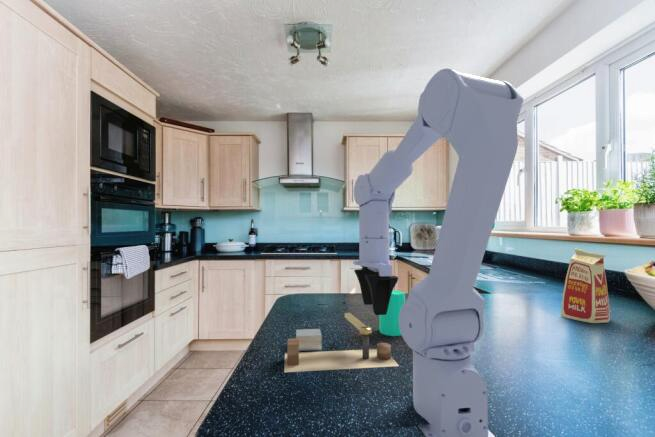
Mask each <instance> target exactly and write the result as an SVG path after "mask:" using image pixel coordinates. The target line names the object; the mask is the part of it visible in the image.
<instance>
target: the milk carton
mask: <svg viewBox="0 0 655 437" xmlns="http://www.w3.org/2000/svg"><path fill="white" fill-rule="evenodd" d="M574 251H575V253H574V254H573V255H572V256H571V258H570V260H569V265H568V269H567V272H566V276H565V280H564V287H563V293H562V299H561V300H562V302H561V311H560V317H561V318H566V319H571V320H575V321H580V322H584V323H590V324H603V323H604V324H605V323H609V322H610V321H611V315H610V312H611V311H610V300H609V292H608V283H607V276H606V271H605V269H606V268H605V264H604V258H605V257H607V254H600V253H594V252H589V251H585V250H583V249H579V248H576V247H575V248H574Z"/></svg>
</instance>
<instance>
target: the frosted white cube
mask: <svg viewBox="0 0 655 437" xmlns="http://www.w3.org/2000/svg"><path fill="white" fill-rule="evenodd" d="M295 333H296V334H295V338H298V340H299V352H303V351H304V352H306V351H307V352H309V351H322V347H323V344H322V343H323V341H322V340H323V339H322V337H323V335H322V332H321V328H310V329H309V328H303V329H296V331H295Z"/></svg>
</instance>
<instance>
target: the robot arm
mask: <svg viewBox="0 0 655 437" xmlns="http://www.w3.org/2000/svg"><path fill="white" fill-rule="evenodd" d="M418 100H419V101H418V106H417V107H418V108H417V110H418V111H417V112H418V114H417V117H416V118H415V119H414V121H413V123H412V124H411V126H410V127H409V129H408V130H407V132H406V133H405V134H404V137H402V139H401V141H400V143H399V144H398V146H397V147H396V149H390V150H387V151H386V152H385V153H384V154H382V156H381V158H380V159H379V161H377V162H376V164H375V165H374V167H373V168H372V169H371V170H370V172H369V173H364V174H359V175H358V176H357V178H356V180H355V182H354V186H353V197H354V201H355V203H356V204H357V205H358V207H359V208H358V211H359V212H358V218H359V219H358V220H359V221H358V223H359V225H358V227H359V228H358V230H359V231H358V232H359V233H358V234H359V241H358V242H359V243H358V244H359V246H358V247H359V249H358V250H359V252H358V253H359V254H358V255H359V257H358V258H359V260H353V263H352V264H353V265H354V266H360V267H361V269H359V268H358V269H354V270H353V272H354V274H355V276H356V278H357V280H358V283H359V287H360V293H361V297H362V302H363V305H365V306H367V305H368V306H372V310H373V314H374V315H375V316H379V315H386V314H387V310H388V306H389V301H390V297H391V294H392V291H394V289H395V287H396V284H397V283H398V281H399V277H398V276H396V275H392V274H393V273H392V272H393V271H392V268H393V267H392V266H393V265H392V264H391V260H390V215H391V214H392V211H393V210H392V208H393V202H394V201H395V196H396V191H397V189H398V188H400V186H401V185H402V184H403V183H404V182H405V181H406V180H407V179H408V178H410V177H411V175H412V174H413V170H414V169H413V168H414V167H413V163H415V162H416V161H417V159H419V158H420V157H421V156H423V154H424V153H426V152H427V151H428V150H429V149H430V148H431V147H433V145H434V144H435V143H437V142H438V141H439V140H440V139H441V138H444V140H446V141H447V142H448V143H450V144H451V146H452V148H453V149H454V150H455V152H456V154H457V157H458V161H457V165H456V168H455V173H454V175H453V180H452V183H451V188H450V191H449V195H448V200H447V204H446V206H445V211H444V215H443V219H442V222H441V225H440V226H441V228H440V229H441V230H440V234H439V238H437V242H436V245H435V250H434V253H433V257H432V261H431V265H430V269H429V273H428V274H427V276H426V277H424V278H423V279H421V280H420V281H419V282H418V283H416V284H415V285H414V286H412V287H411V288H410V289H409V292H408V293H409V294H408V296H407V298H406V300H405V303H404V304H403V306H402V307H401V310H400V313H399V328H400V332H401V337H402V338H403V340H404V342H405V343H406V345H407V347H408V348H410V349H411V350H412V384H413V385H412V388H413V389H412V391H413V392H412V394H413V396H412V398H413V399H412V400H413V401H412V402H413V403H412V404H413V408H414V410H415V411H416V413H417V414H418V415H420V417H422V418H423V419H425V420H426V421H427V422H428V423H427V424H420V425H418V428H419V429H420V431H421V433H422V434H423V435H424V437H496V436H495V435H494V434H493V433H492V432H491V431H490V429H489V417H488V416H489V415H488V414H489V413H488V412H489V411H488V409H489V408H488V404H489V403H488V387H487V383H486V382H485V380H484V378H483V377H482V375H481V374H480V373H479V372H478V370H477V369H476V368H475V366H474V363H473V362H472V358H471V353H473V352H474V351H475V343H477V342H478V341H480V339H482V336H483V333H484V327H485V325H484V324H485V323H484V318H483V317H484V311H485V306H486V303H487V302H486V300H485V299H484V297H483V296H482V294H480V293H479V291H478V290H476V288H475V284H476V281H477V278H478V275H479V272H480V268H481V265H482V263H483V259H484V256H485V253H486V250H487V247H488V243H489V240H490V237H491V234H492V231H493V228H494V225H495V221H496V218H497V214H498V212H499V209H500V205H501V202H502V199H503V196H504V193H505V190H506V186H507V185H508V184H507V183H508V179H509V177H510V174H511V170H512V167H513V164H514V161H515V158H516V155H517V151H518V147H519V146H518V145H519V142H518V141H519V140H518V125H517V123H518V119H519V116H520V113H521V109H522V106H523V104H524V97H523V96H522V95H521V94H520V93H519V92H518V90H517V89H516V88H515V87H514V85H512V84H511V83H510V82H509V81H506V80H495V79H490V78H485V77H482V76H477V75H473V74H469V73H462V72H459V71H456V70H455V69H452V68H448V67H447V68H442V69H440V70H438V71H437V72H436V73H434V74H433V76H432V77H431V78H430V80H429V81H428V82H427V84H426V86H425V88H424V90H423V92H421V94H420V95H419V99H418Z"/></svg>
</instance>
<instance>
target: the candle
mask: <svg viewBox="0 0 655 437" xmlns="http://www.w3.org/2000/svg"><path fill="white" fill-rule="evenodd" d="M405 302H406V292H402V291H400V290H393V291H392V294H391V297H390V301H389V306H388V310H387V314H386V315H378V316H379V319H378V320H379V325H378V326H379V329H378V332H380V334H382V335H385V336H391V337H400V336H401V337H402V335H401V332H400V328H399V313H400V310H401V307H402V306H403V304H404V303H405Z"/></svg>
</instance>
